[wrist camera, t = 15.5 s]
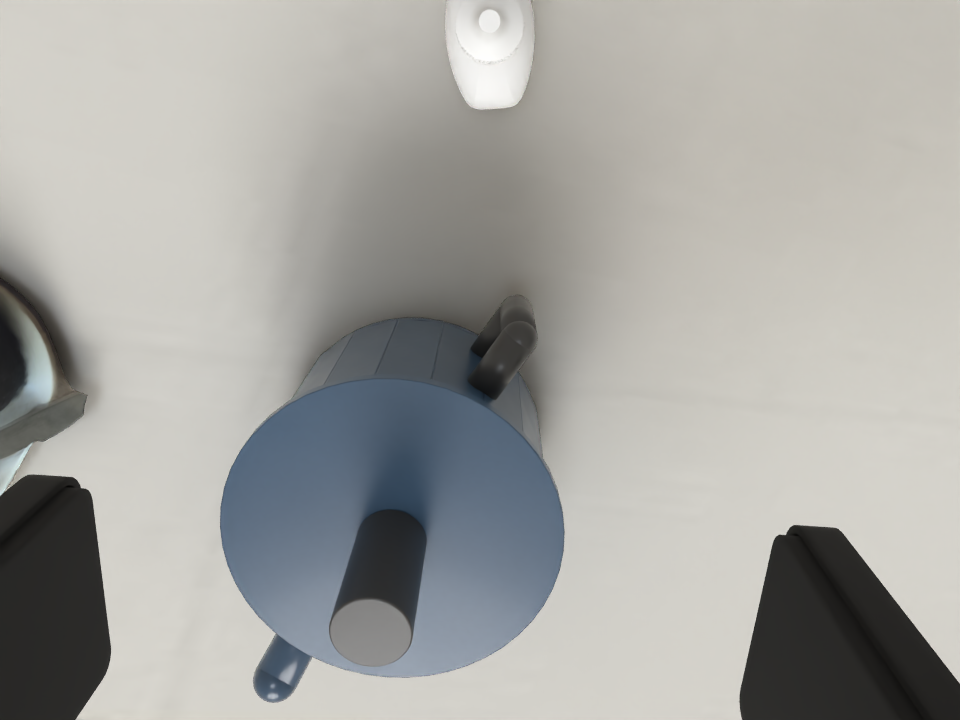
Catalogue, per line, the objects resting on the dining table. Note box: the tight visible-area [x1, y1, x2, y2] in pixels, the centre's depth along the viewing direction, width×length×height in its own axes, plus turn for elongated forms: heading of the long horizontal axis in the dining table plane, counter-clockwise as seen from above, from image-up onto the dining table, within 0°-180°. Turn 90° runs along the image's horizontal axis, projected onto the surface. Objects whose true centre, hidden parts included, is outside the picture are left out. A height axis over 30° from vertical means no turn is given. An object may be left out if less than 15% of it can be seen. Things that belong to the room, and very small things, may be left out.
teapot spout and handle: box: [253, 295, 538, 703], centre depth 37 cm, size 2×23×8 cm, turn 146°
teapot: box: [291, 318, 543, 457], centre depth 38 cm, size 14×14×10 cm
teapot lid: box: [220, 374, 564, 678], centre depth 30 cm, size 15×15×7 cm
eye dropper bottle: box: [445, 0, 535, 109], centre depth 30 cm, size 4×6×12 cm
